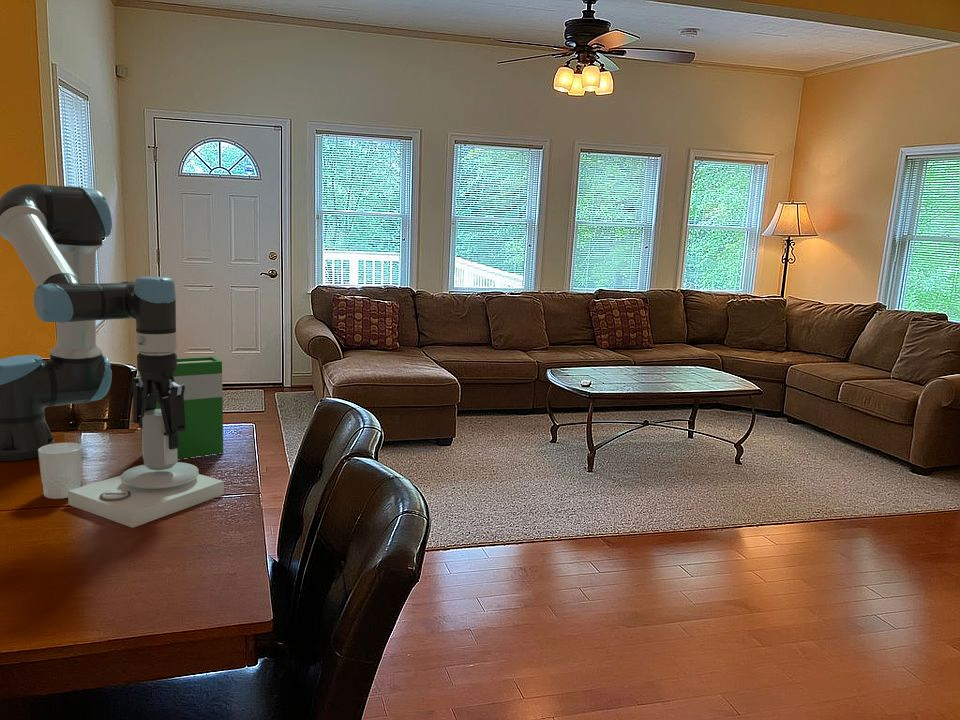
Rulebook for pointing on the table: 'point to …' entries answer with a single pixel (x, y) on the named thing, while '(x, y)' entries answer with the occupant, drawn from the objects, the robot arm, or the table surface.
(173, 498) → the kitchen scale
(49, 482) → the white cup
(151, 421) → the beverage can
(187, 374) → the hardback book
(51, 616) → the table surface
